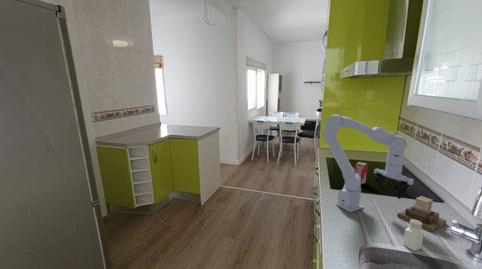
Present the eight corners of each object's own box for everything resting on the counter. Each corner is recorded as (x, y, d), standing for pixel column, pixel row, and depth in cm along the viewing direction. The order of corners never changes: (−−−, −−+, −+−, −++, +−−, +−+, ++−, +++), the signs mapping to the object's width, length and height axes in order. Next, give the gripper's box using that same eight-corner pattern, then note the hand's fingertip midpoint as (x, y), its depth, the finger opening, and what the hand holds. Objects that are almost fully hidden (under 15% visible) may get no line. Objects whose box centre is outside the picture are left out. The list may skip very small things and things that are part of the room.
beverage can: (367, 185, 126) (369, 165, 123) (355, 184, 127) (357, 164, 125) (363, 181, 132) (365, 162, 129) (352, 180, 133) (354, 161, 131)
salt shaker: (414, 252, 72) (419, 226, 70) (401, 244, 76) (405, 219, 74) (421, 249, 74) (426, 223, 72) (409, 241, 77) (413, 217, 75)
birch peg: (424, 220, 88) (427, 202, 86) (413, 215, 91) (416, 198, 90) (429, 218, 89) (432, 200, 88) (418, 213, 93) (421, 196, 91)
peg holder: (431, 232, 83) (433, 222, 82) (397, 216, 93) (398, 208, 92) (445, 223, 88) (447, 214, 87) (412, 210, 99) (413, 201, 98)
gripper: (419, 167, 86) (414, 199, 89) (382, 158, 99) (378, 186, 101) (409, 170, 83) (404, 203, 85) (372, 160, 96) (369, 189, 98)
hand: (389, 194), depth 93 cm, fingers open, 7 cm apart
